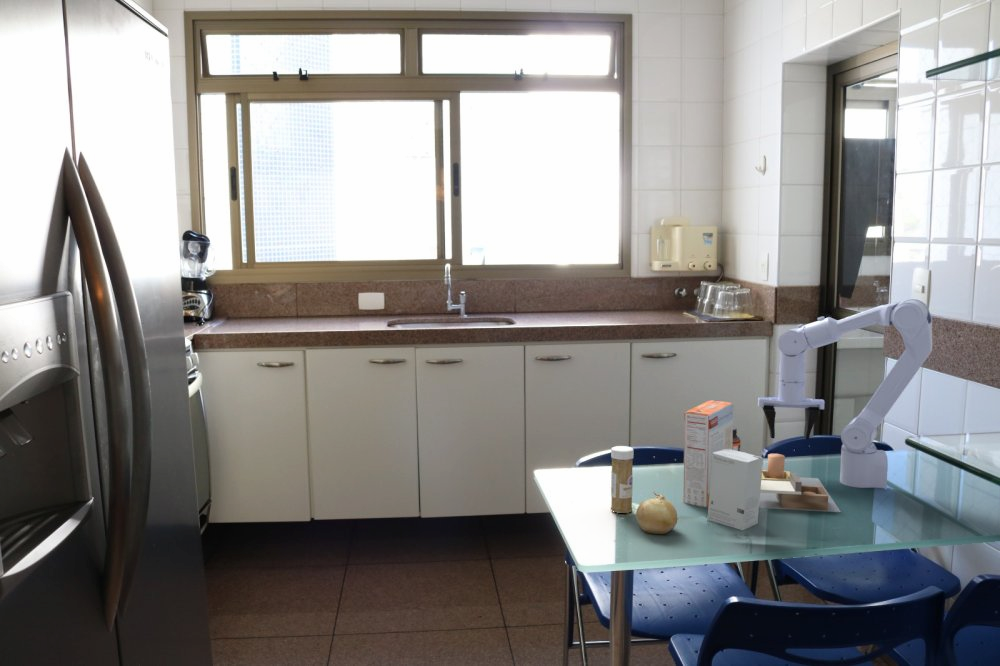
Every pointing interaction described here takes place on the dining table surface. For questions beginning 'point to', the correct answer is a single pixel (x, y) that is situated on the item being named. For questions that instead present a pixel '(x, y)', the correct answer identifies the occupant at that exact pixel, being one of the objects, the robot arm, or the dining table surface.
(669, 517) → the onion
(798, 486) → the lid
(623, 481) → the sprinkles bottle
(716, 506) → the skincare box
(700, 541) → the dining table surface
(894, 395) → the robot arm
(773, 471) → the dowel pin
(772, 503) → the board
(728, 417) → the cracker box
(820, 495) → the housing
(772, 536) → the dining table surface
